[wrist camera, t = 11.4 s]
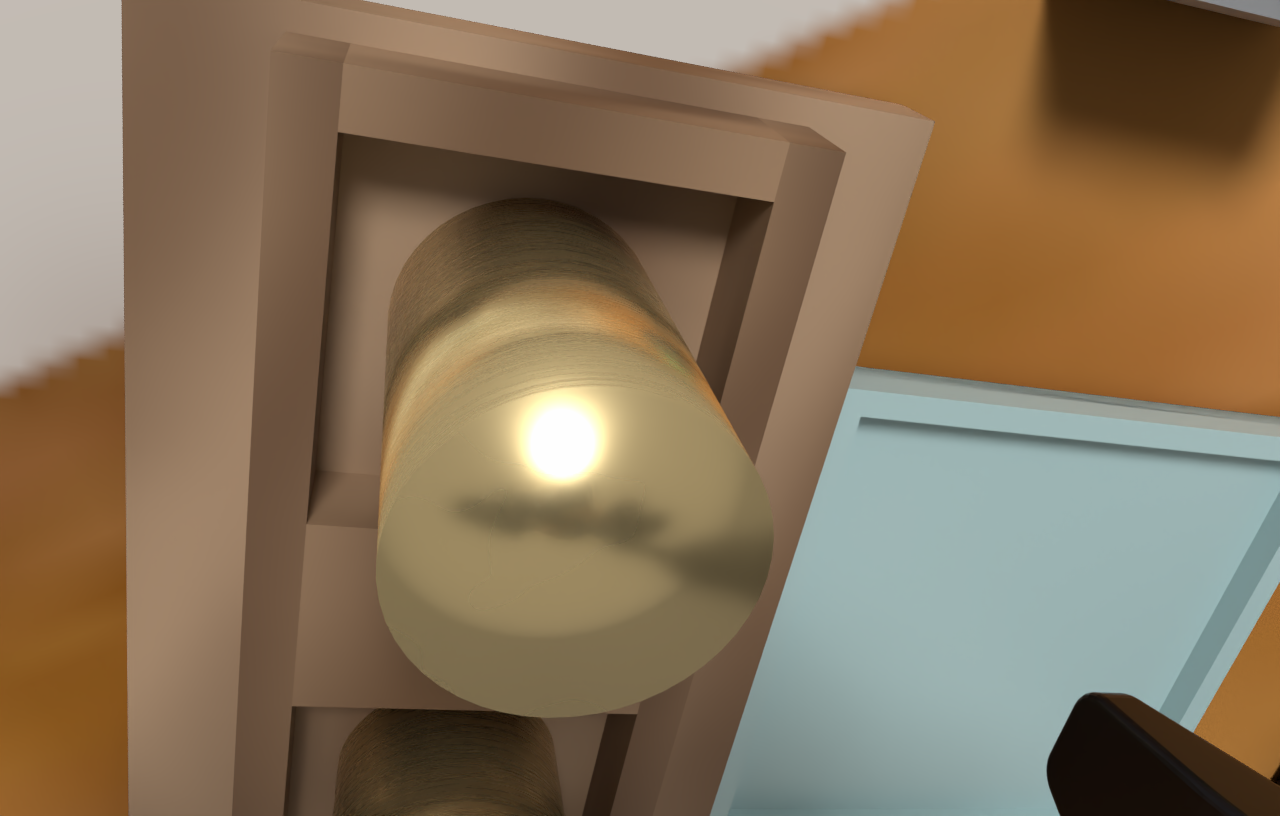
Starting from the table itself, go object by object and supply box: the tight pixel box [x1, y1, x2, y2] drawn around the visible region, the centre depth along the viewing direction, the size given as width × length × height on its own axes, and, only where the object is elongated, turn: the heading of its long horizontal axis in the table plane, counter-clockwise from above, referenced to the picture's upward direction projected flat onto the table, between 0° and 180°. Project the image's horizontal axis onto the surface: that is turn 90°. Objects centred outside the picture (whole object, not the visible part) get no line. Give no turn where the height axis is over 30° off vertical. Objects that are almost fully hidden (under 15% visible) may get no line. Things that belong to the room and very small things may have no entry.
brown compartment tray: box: [122, 0, 935, 816], centre depth 17 cm, size 11×17×3 cm, turn 168°
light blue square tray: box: [710, 366, 1280, 816], centre depth 22 cm, size 11×11×1 cm
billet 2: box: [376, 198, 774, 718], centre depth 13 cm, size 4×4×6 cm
